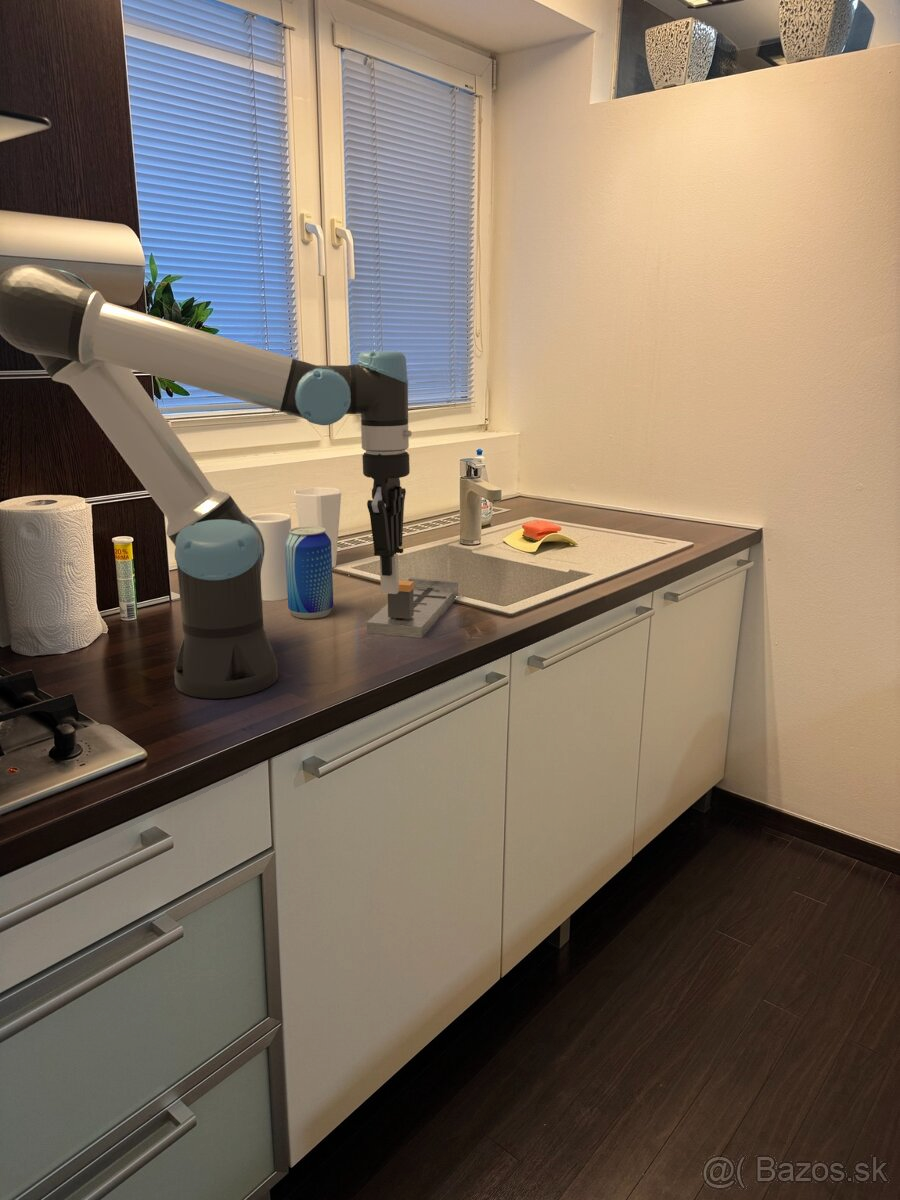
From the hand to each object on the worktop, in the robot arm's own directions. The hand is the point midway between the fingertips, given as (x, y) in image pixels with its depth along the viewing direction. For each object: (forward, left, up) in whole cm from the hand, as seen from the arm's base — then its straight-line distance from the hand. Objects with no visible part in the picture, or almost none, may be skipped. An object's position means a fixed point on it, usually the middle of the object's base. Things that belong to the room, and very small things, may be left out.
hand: (390, 592), depth 145 cm
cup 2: (+44, +31, -9) cm, 55 cm away
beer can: (+11, +19, -9) cm, 24 cm away
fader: (+7, 0, -6) cm, 9 cm away
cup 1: (+20, +31, -9) cm, 38 cm away
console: (+16, 0, -9) cm, 18 cm away
